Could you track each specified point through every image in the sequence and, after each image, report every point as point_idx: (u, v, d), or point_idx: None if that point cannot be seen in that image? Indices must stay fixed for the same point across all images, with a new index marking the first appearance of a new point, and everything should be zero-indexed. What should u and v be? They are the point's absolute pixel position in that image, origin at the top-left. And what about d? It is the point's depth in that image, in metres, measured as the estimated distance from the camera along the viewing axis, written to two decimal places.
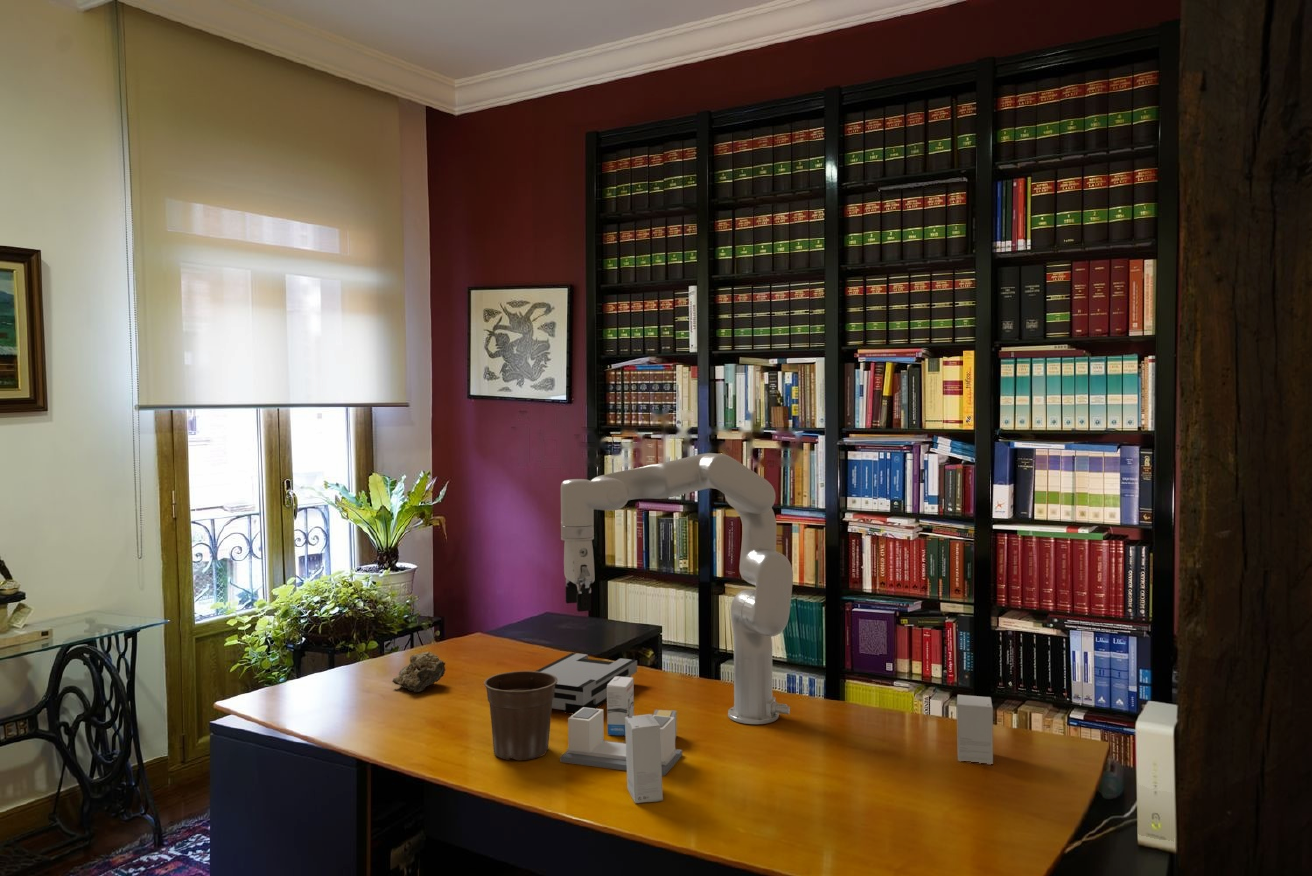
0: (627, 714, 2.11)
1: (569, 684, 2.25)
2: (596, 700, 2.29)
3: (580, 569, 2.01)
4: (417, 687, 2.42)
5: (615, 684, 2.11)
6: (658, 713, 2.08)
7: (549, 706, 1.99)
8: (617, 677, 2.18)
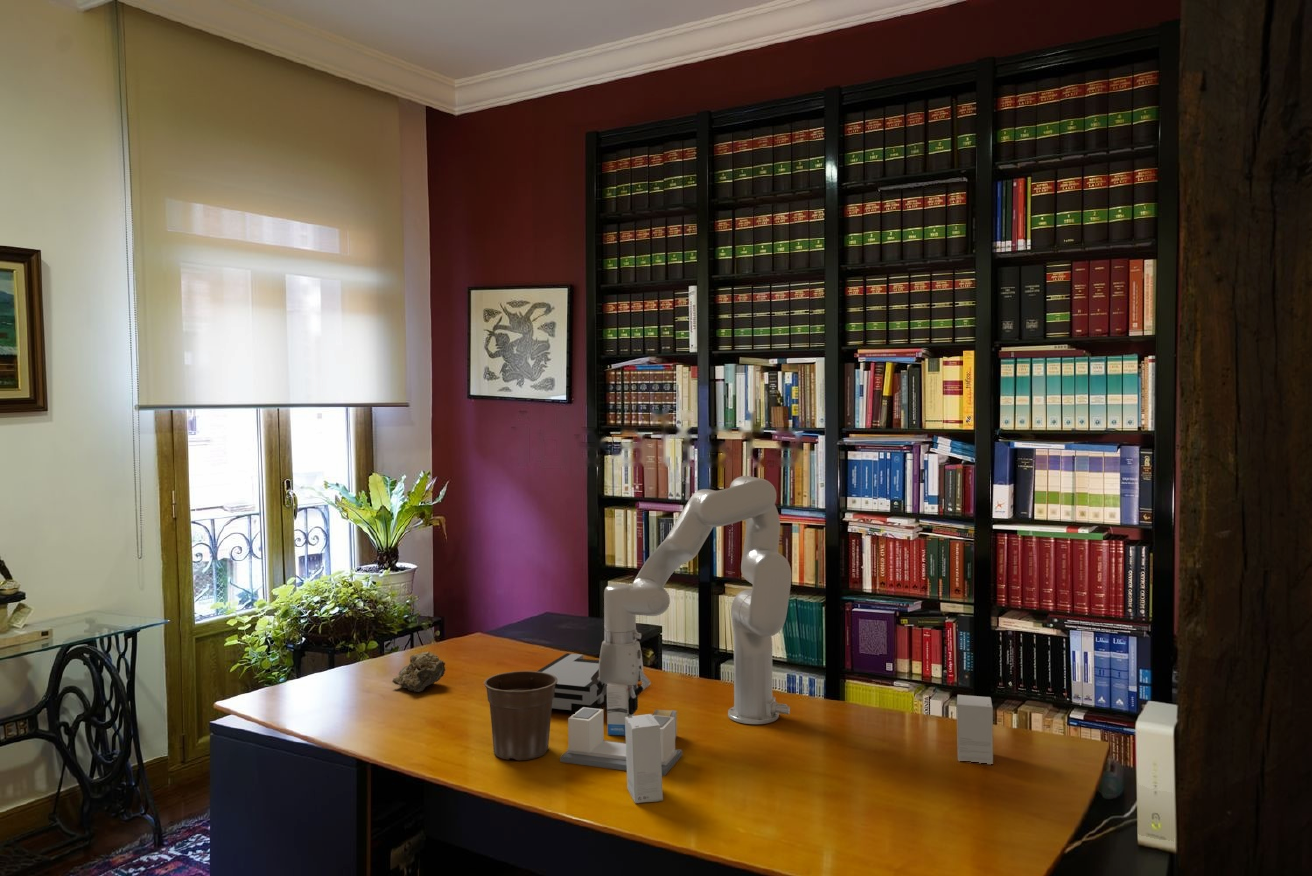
0: (627, 714, 2.11)
1: (575, 684, 2.25)
2: (600, 699, 2.29)
3: None
4: (417, 687, 2.42)
5: (615, 684, 2.11)
6: (658, 713, 2.08)
7: (549, 706, 1.99)
8: None
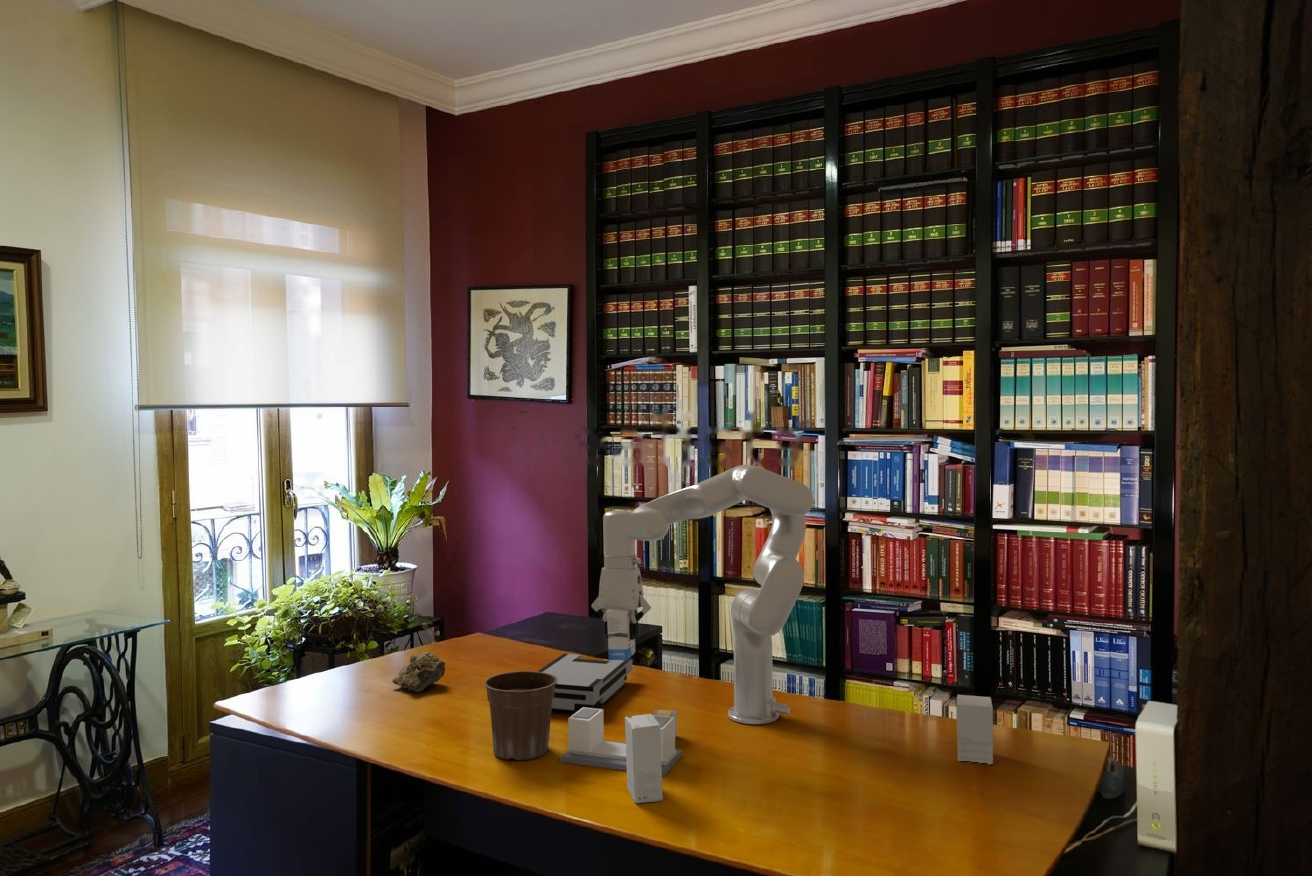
0: (628, 639, 2.11)
1: (578, 684, 2.25)
2: (603, 699, 2.30)
3: None
4: (417, 687, 2.42)
5: (615, 610, 2.11)
6: (658, 713, 2.08)
7: (549, 706, 1.99)
8: None
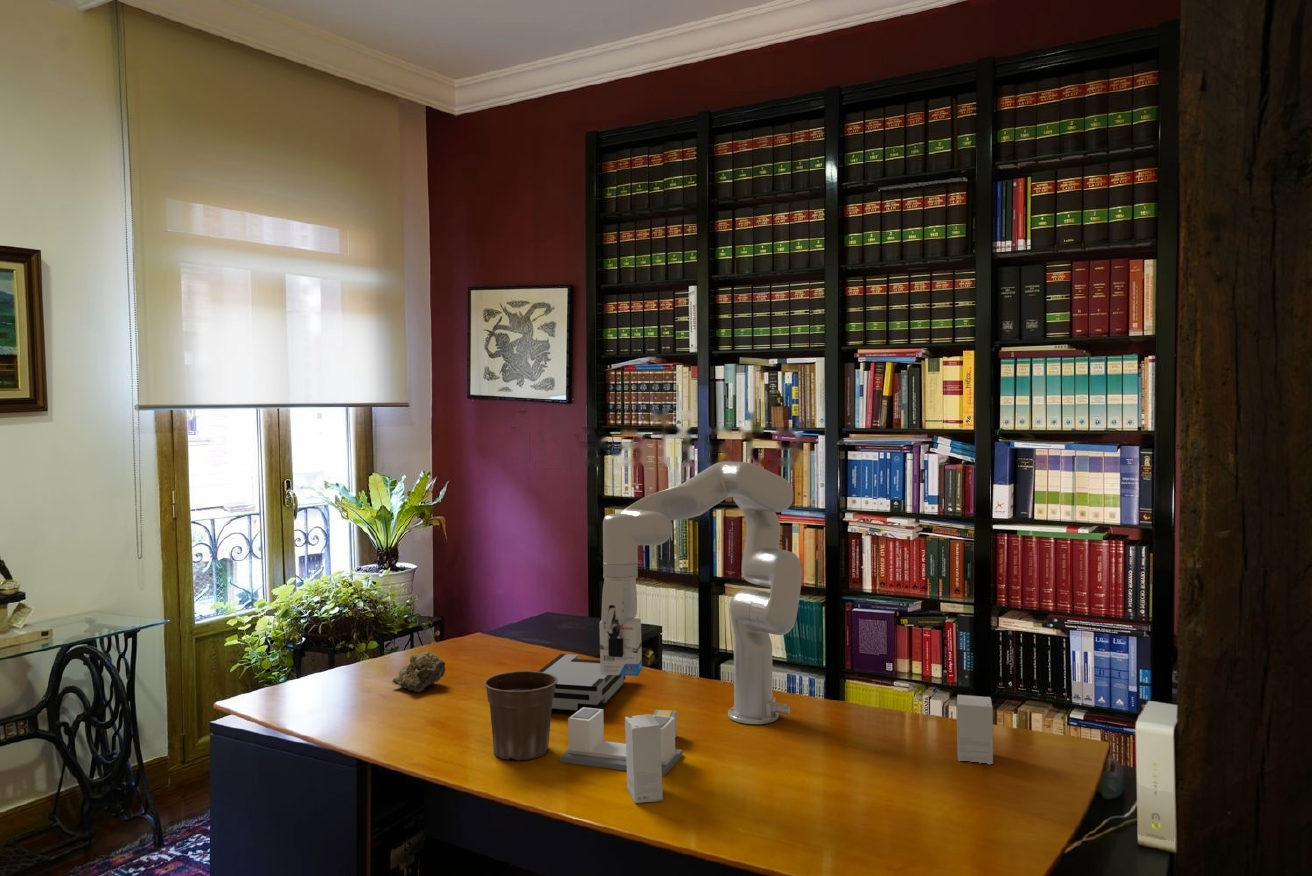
0: None
1: (581, 684, 2.25)
2: (605, 699, 2.30)
3: None
4: (417, 687, 2.42)
5: (633, 620, 1.95)
6: (658, 713, 2.08)
7: (549, 706, 1.99)
8: None
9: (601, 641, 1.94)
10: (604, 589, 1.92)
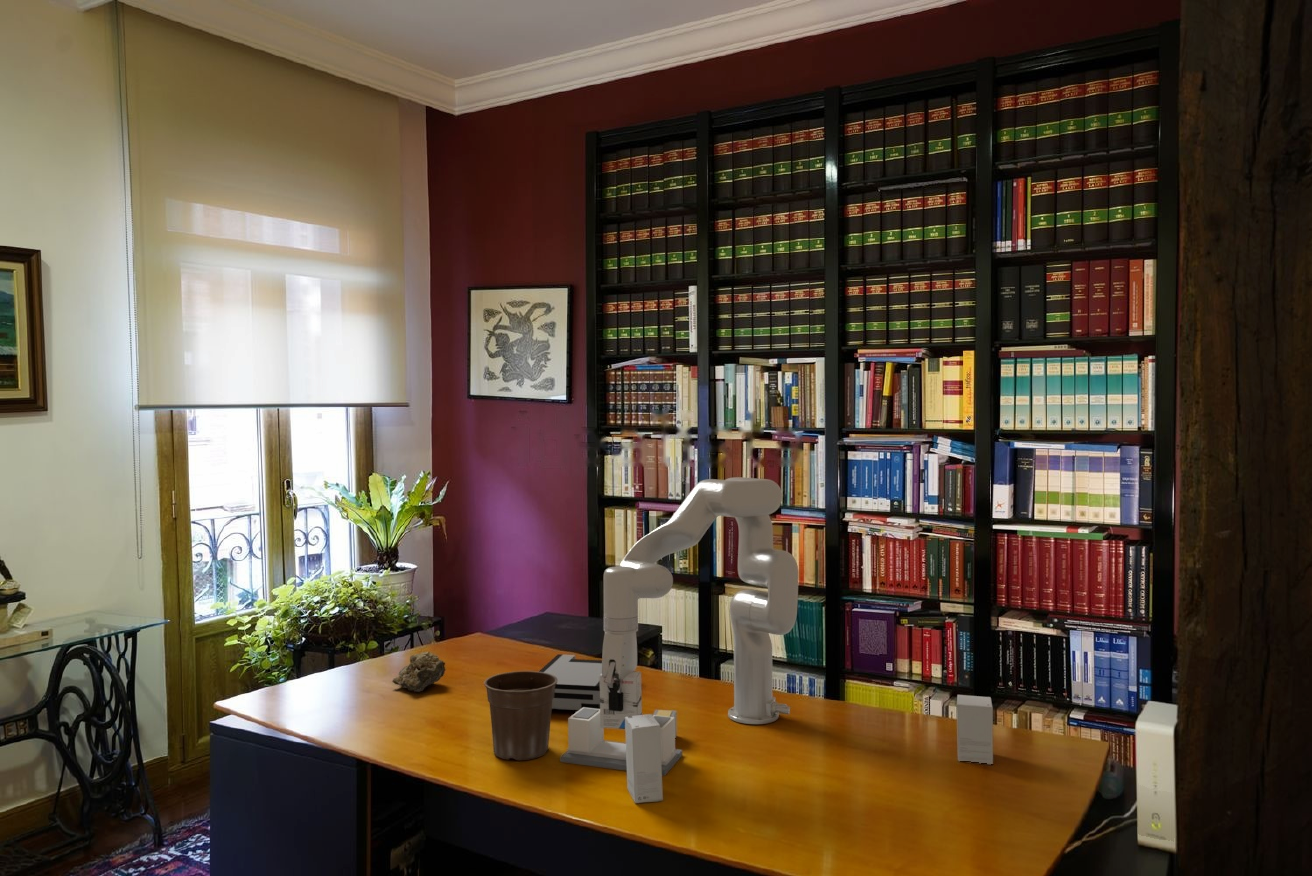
0: None
1: (585, 684, 2.25)
2: None
3: None
4: (417, 687, 2.42)
5: (633, 674, 1.95)
6: (658, 713, 2.08)
7: (549, 706, 1.99)
8: None
9: (601, 694, 1.94)
10: (604, 643, 1.92)
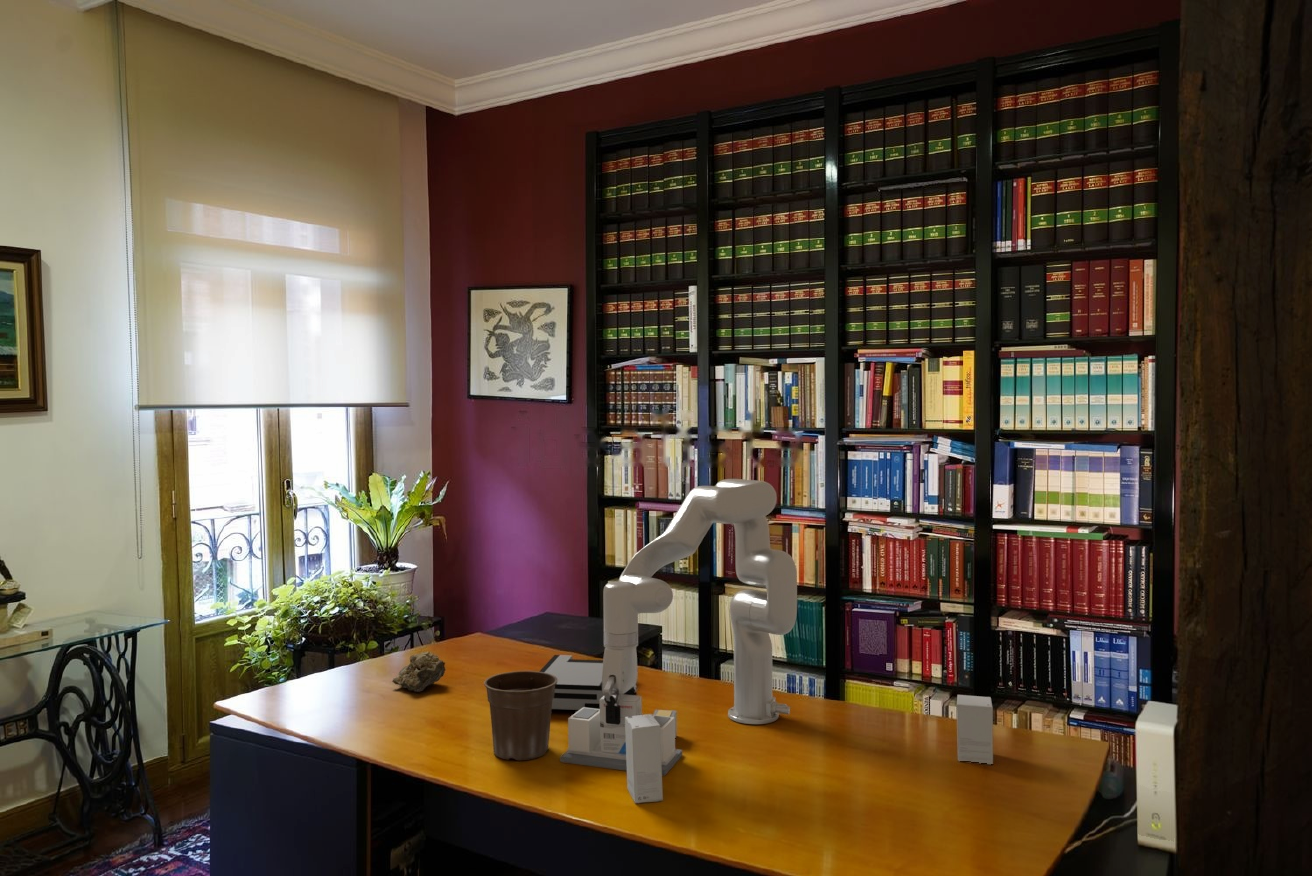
0: None
1: (588, 684, 2.25)
2: None
3: None
4: (417, 687, 2.42)
5: (633, 698, 1.94)
6: (658, 713, 2.08)
7: (549, 706, 1.99)
8: None
9: (601, 719, 1.94)
10: (605, 658, 1.92)
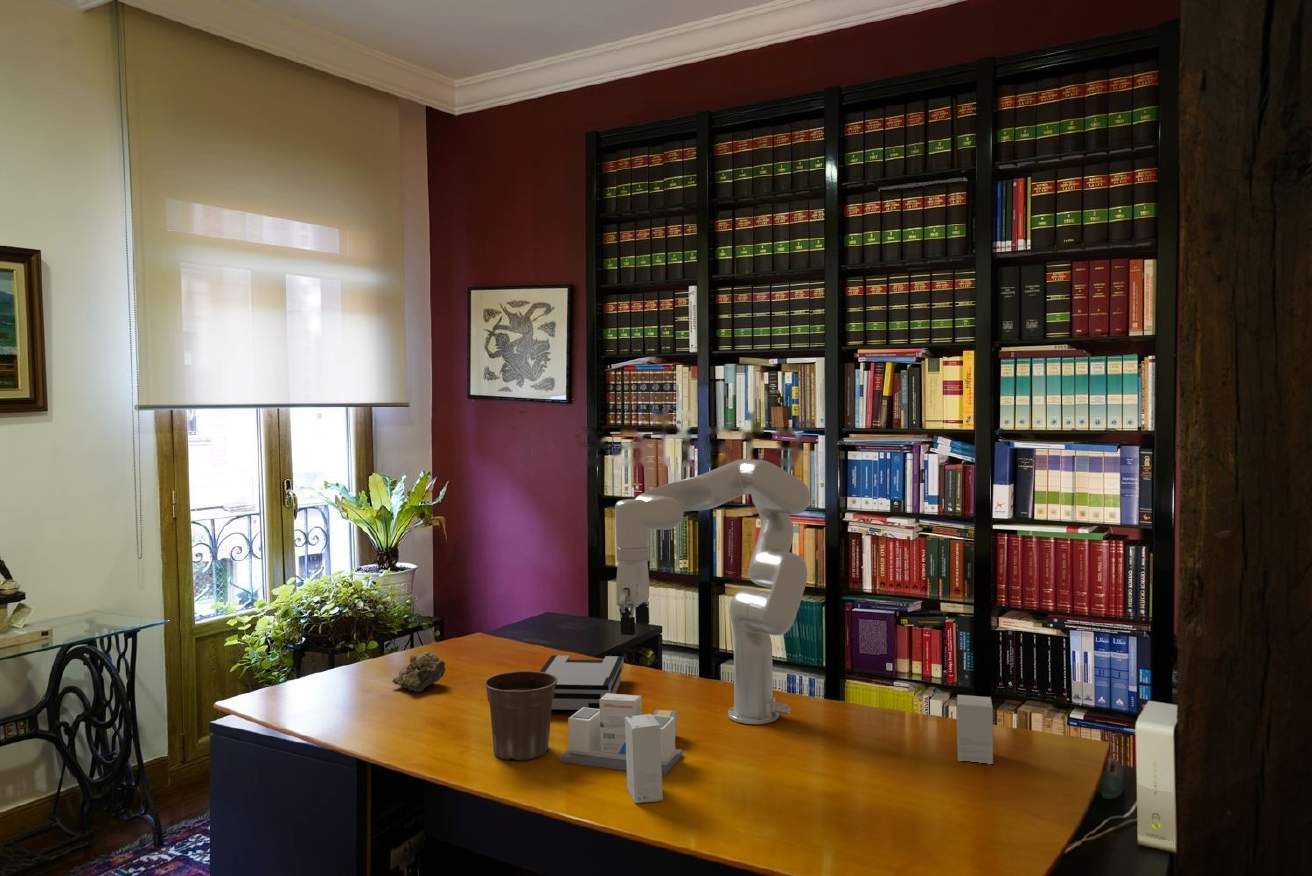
0: None
1: (591, 684, 2.25)
2: None
3: None
4: (417, 687, 2.42)
5: (633, 698, 1.94)
6: (658, 713, 2.08)
7: (549, 706, 1.99)
8: (605, 698, 1.95)
9: (601, 719, 1.94)
10: (618, 572, 1.98)
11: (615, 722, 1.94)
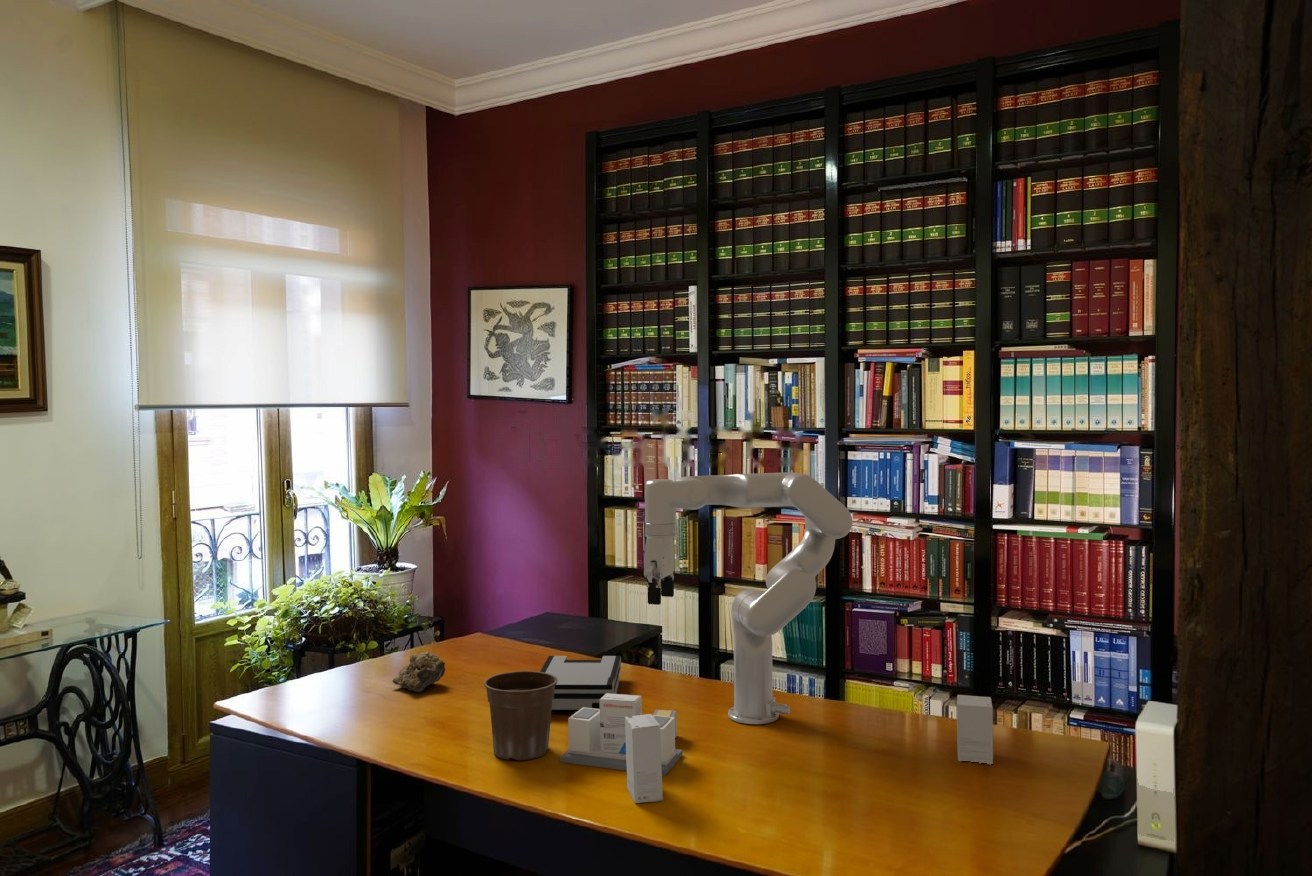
0: None
1: (595, 683, 2.25)
2: None
3: None
4: (417, 687, 2.42)
5: (633, 698, 1.94)
6: (658, 713, 2.08)
7: (549, 706, 1.99)
8: (605, 698, 1.95)
9: (601, 719, 1.94)
10: (646, 546, 2.14)
11: (615, 722, 1.94)
